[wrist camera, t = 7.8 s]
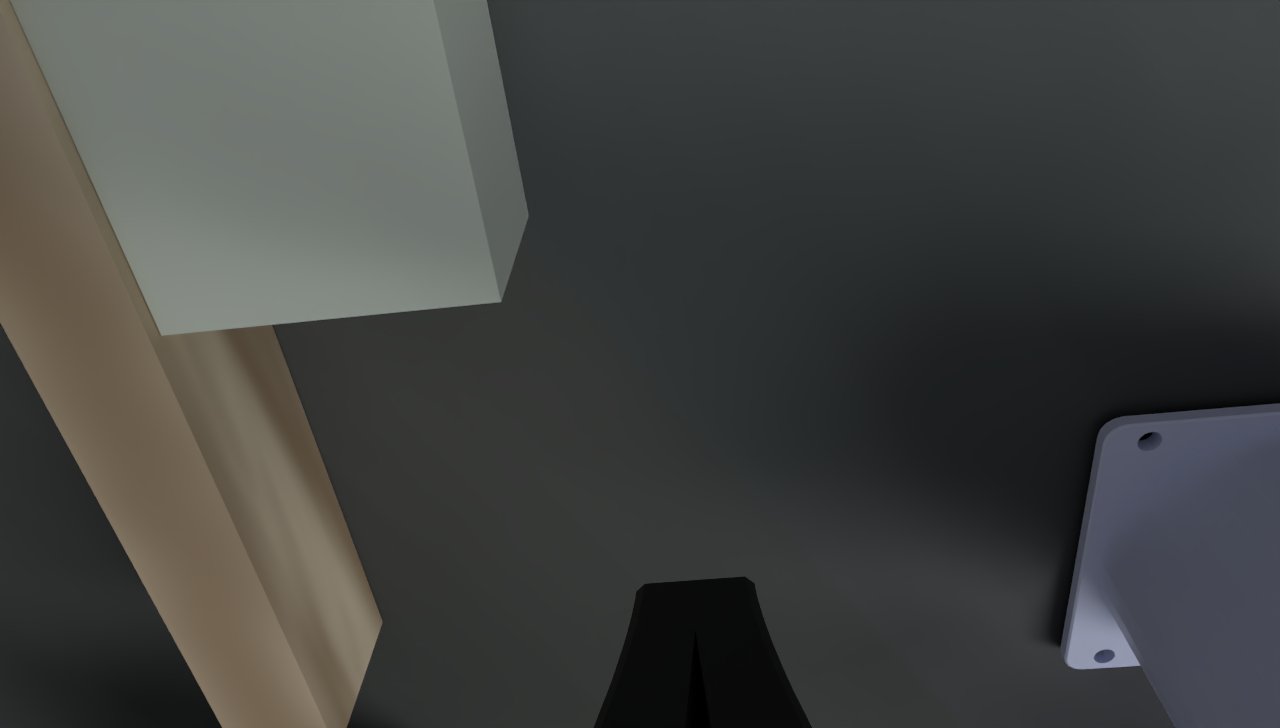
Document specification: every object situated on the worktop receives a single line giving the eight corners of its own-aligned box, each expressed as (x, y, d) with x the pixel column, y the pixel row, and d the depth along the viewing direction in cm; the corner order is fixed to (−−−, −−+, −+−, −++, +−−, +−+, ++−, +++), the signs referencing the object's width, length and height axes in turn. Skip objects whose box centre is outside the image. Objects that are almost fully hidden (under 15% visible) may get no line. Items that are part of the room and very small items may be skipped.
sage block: (439, -256, 15) (371, -274, 11) (530, 211, 19) (501, 302, 15) (84, -203, 15) (-84, -205, 12) (250, 241, 19) (161, 335, 16)
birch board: (-13, -439, 13) (-245, -525, 10) (382, 621, 25) (337, 752, 21) (-165, -413, 14) (-443, -488, 10) (297, 627, 25) (238, 758, 21)
